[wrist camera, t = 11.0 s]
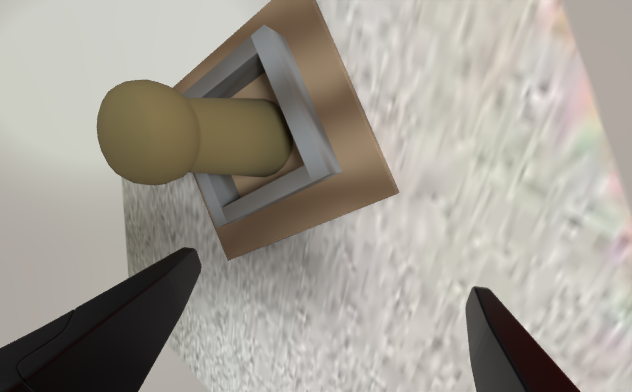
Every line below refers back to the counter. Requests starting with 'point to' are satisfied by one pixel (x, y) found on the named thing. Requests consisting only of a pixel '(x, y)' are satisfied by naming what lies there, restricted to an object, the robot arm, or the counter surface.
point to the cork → (189, 134)
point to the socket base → (305, 125)
